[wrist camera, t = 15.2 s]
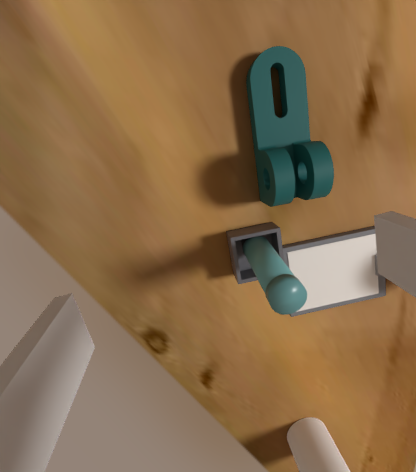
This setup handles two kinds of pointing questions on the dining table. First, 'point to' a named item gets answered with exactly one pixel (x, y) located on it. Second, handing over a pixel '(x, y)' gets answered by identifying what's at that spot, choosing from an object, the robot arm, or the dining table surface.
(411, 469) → the dining table surface
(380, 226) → the robot arm
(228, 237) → the pen holder
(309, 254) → the clipboard
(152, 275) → the dining table surface
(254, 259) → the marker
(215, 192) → the dining table surface
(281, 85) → the bracket
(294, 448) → the cylindrical container
